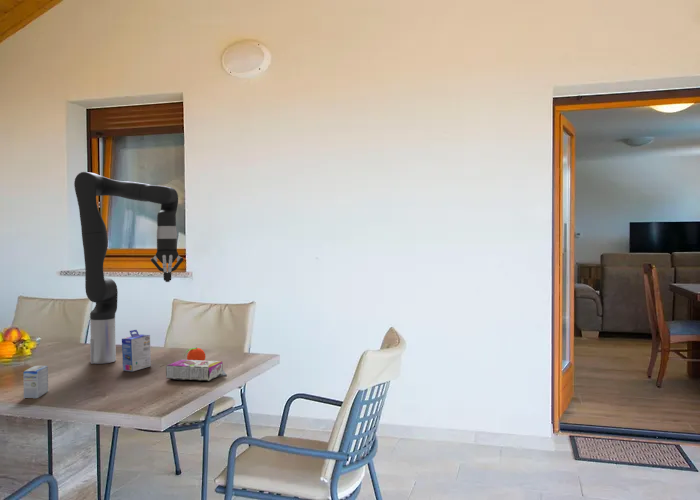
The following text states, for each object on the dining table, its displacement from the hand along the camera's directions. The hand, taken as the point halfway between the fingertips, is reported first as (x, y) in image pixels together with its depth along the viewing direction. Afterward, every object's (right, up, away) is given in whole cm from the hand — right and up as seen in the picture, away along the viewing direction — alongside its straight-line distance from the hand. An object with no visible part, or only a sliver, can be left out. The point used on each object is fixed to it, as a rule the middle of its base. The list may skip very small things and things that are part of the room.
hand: (167, 281), depth 239 cm
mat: (+17, -33, -18) cm, 41 cm away
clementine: (+12, -32, -5) cm, 35 cm away
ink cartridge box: (-9, -33, -9) cm, 35 cm away
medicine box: (-28, -34, -46) cm, 64 cm away
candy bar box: (+9, -30, -23) cm, 38 cm away
